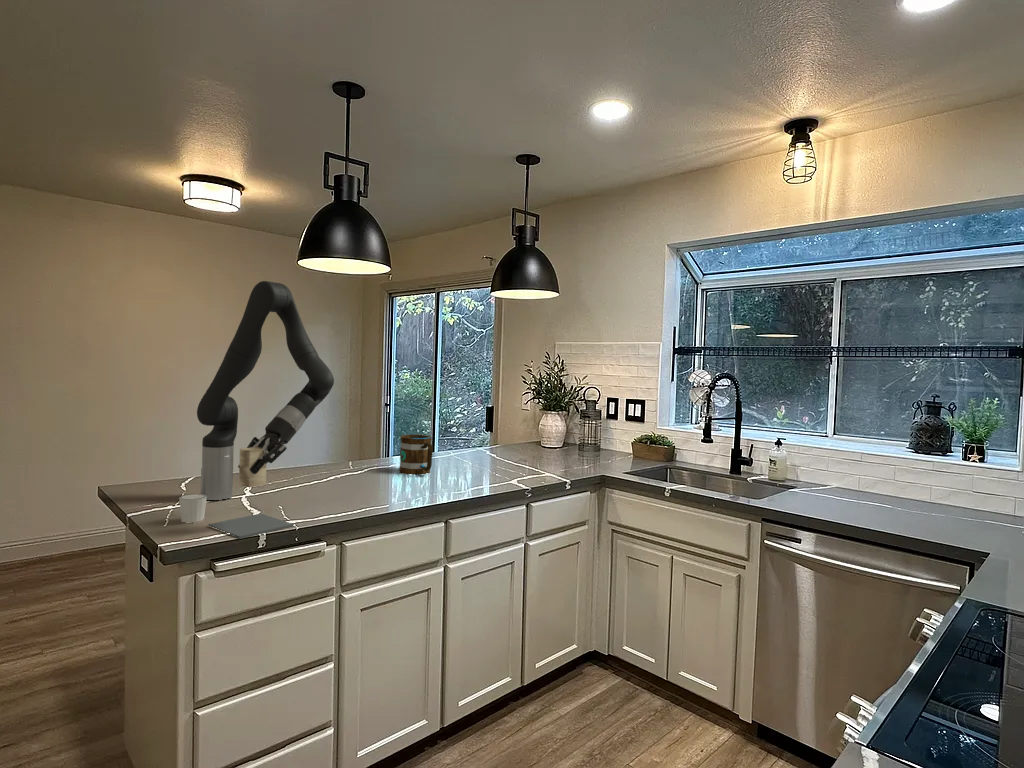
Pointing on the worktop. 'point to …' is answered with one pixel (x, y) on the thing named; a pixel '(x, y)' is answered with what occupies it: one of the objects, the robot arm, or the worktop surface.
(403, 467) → the mug
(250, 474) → the birch block
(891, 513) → the worktop surface
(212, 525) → the slate mat
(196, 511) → the white tapered cup
